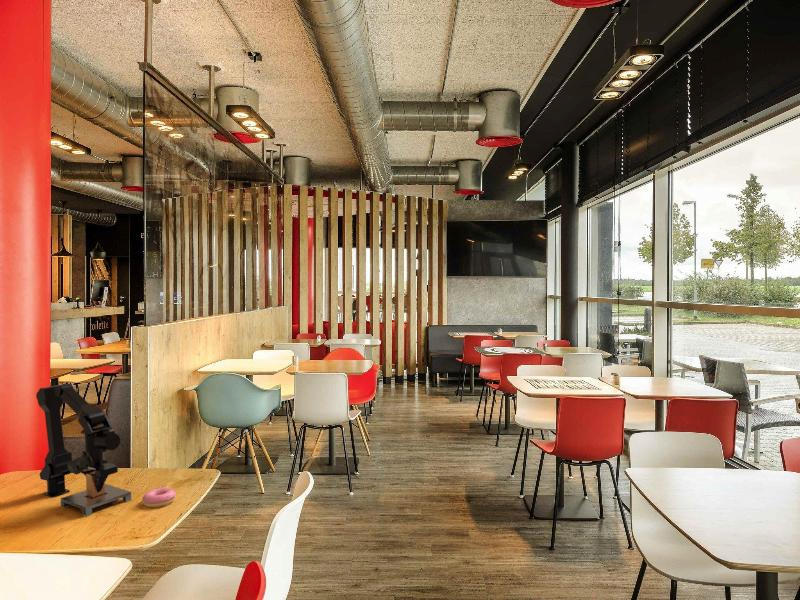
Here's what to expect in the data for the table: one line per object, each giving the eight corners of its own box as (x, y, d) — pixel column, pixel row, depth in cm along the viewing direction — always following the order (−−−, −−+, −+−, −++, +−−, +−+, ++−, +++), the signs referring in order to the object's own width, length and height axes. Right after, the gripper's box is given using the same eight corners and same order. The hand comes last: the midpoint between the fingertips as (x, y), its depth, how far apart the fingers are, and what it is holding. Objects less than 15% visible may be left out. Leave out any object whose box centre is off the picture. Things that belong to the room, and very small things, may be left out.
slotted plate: (60, 506, 196) (60, 498, 196) (105, 491, 210) (105, 483, 210) (86, 516, 188) (85, 507, 187) (131, 500, 201) (130, 491, 201)
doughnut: (180, 496, 204) (180, 484, 204) (170, 508, 193) (169, 496, 193) (149, 497, 204) (149, 486, 204) (137, 509, 193) (136, 497, 193)
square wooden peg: (87, 500, 198) (86, 473, 197) (99, 496, 201) (98, 469, 201) (92, 502, 196) (91, 475, 195) (105, 498, 200) (104, 471, 199)
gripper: (56, 448, 196) (58, 493, 197) (85, 457, 186) (87, 503, 187) (88, 440, 206) (89, 483, 206) (118, 448, 196) (119, 492, 196)
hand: (95, 490), depth 198 cm, fingers closed on square wooden peg, 3 cm apart
